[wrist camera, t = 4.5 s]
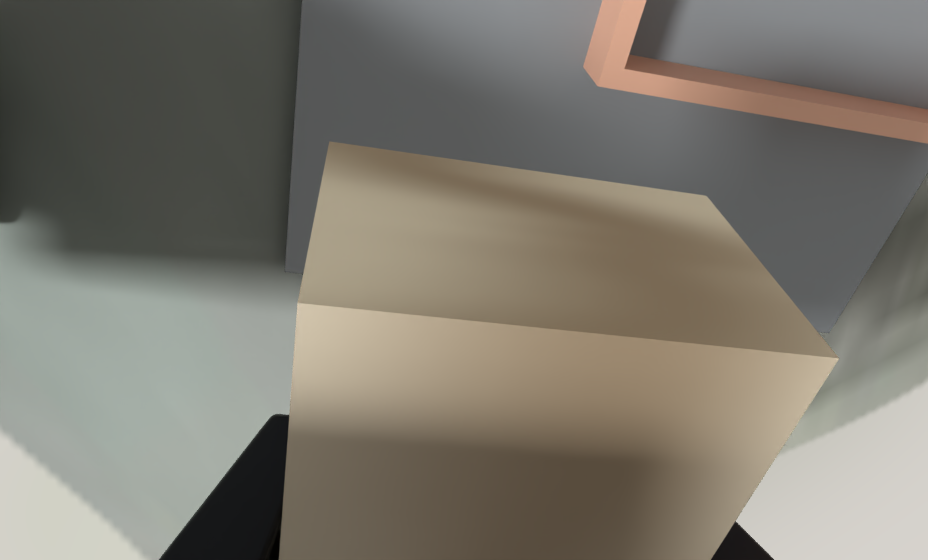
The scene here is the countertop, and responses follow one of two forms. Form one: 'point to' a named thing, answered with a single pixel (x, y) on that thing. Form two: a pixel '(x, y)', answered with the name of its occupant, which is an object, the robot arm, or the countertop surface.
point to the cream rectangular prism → (530, 368)
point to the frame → (734, 84)
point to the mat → (632, 113)
